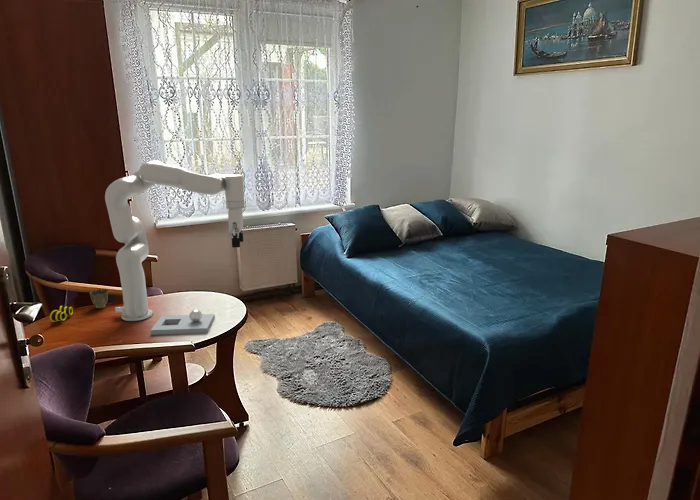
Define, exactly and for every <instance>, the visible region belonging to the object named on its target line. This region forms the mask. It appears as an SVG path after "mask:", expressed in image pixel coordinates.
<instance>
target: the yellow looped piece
mask: <svg viewBox="0 0 700 500" xmlns="http://www.w3.org/2000/svg"><path fill="white" fill-rule="evenodd" d="M73 313H74V310H73V306H63V305H60V306H59V309H54V310H52V311H51V313H50V314H49V319H50V320H49V321H51V322H59V321H65V320H66V319H67V316H69V315H71V316H72V315H73Z"/></svg>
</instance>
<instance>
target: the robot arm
mask: <svg viewBox="0 0 700 500" xmlns="http://www.w3.org/2000/svg"><path fill="white" fill-rule="evenodd" d="M155 185H161V186H167V187H173V188H178V189H180V190H184V191H188V192H192V193H197V194H204V195H210V196H213V195H214V196H215V195H217V194H219V193H221V192H224V195H225V209H227V212H228V213H227V214H228V215H227V220H228V221H227V222H228V233H230V234H231V247H232V248H240V247H241V243H243V242H244V233H243V228H244V217H243V209H245V208H246V207H245V190H244V189H245V188H244V178H243V175H241V174H238V173H237V174H236V173H233V174H230V173H229V174H222V173H213V174H210V175H208V174H207V175H205V174H200V173H195V172H192V171H189V170H187V169H186V168H185V167H182V166H178V165H177V166H176V165H172V164H171V165H170V164H165V163H163V162H162V161H160V160H157V159H155V160H153V159H152V160H150V161H145V162H143V163H142V164H141V165H140V167H139V169H138V170H137V171H134V172H133V173H131V175H127V176H123V177H120V178H118V179H116V180H114V181H112V183H110V184H109V185H108V187H107V188H106V190H105V194H104V201H105V206H106V208H107V213H108V216H109V217H108V218H109V221H110V222H109V223H110V226H111V230H112V231H111V232H112V234H113V237H114V239H115V240H116V241H117V242H119V243H123V244H124V246H122V247H121V248H119V249H118V252H117V253H116V255H115V260H116V261H115V262H116V266H117V269H118V272H119V277H120V284H121V293H122V302H123V306H115V308H114V311H115V314H120V313H121V317H120V318H121V319H122V320H124V321H125V322H139V321H142V320H145V319H149V318H150V317H152V316H153V315H154V311H153V310H152V309H151V308H149V302H148V300H149V299H148V293H147V286H146V285H147V284H146V283H147V282H146V276H145V270H144V267H143V264H142V262H143V261H145V260H146V259H147V257H148V256H149V254H150V253H149V252H150V247H149V243H148V238H147V234H146V230H145V226H144V223H143V222H142V220H141V219H139V217H136V216H133V213H132V209H131V206H130V204H129V203H128V200H129V199H131V198H134V197H136V196H139V195H141V194H142V193H144V192H145V191H147V190H148V189H150V188H152V187H153V186H155Z"/></svg>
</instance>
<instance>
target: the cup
mask: <svg viewBox="0 0 700 500" xmlns="http://www.w3.org/2000/svg"><path fill="white" fill-rule="evenodd" d="M89 295H90V300H91V302H92V304H93V305H94V306H95V308H96V309H98V310H101V309H105V308H106V304H107V303H108V301H109V299H108V298H109V297H108V296H109V289H107V288H105V289H104V288H102V289H101V288H99V289H98V288H97V289H94V290H91V291H89Z"/></svg>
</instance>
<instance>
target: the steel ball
mask: <svg viewBox="0 0 700 500" xmlns="http://www.w3.org/2000/svg"><path fill="white" fill-rule="evenodd" d="M202 314H203V313H202V312H201V310H199V309H193V310H191V311H190V312H189V314H188V315H189V317H190V319H191V321H193V322H198V321H199V320H201V318H202Z"/></svg>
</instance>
